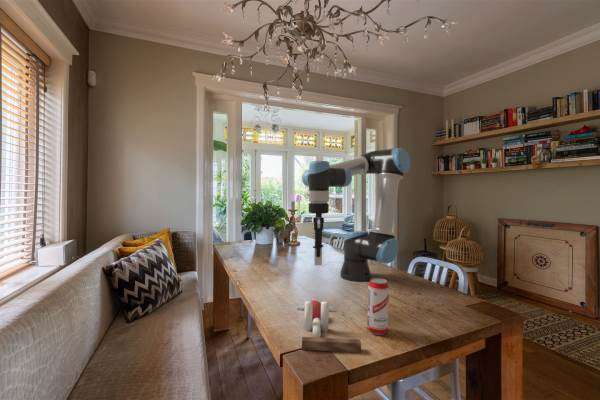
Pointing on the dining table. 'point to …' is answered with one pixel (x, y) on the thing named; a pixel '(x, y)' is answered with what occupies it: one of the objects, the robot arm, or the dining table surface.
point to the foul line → (304, 309)
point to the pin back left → (308, 315)
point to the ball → (316, 309)
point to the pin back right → (324, 316)
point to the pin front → (316, 328)
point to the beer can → (378, 306)
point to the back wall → (331, 344)
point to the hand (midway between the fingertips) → (318, 264)
